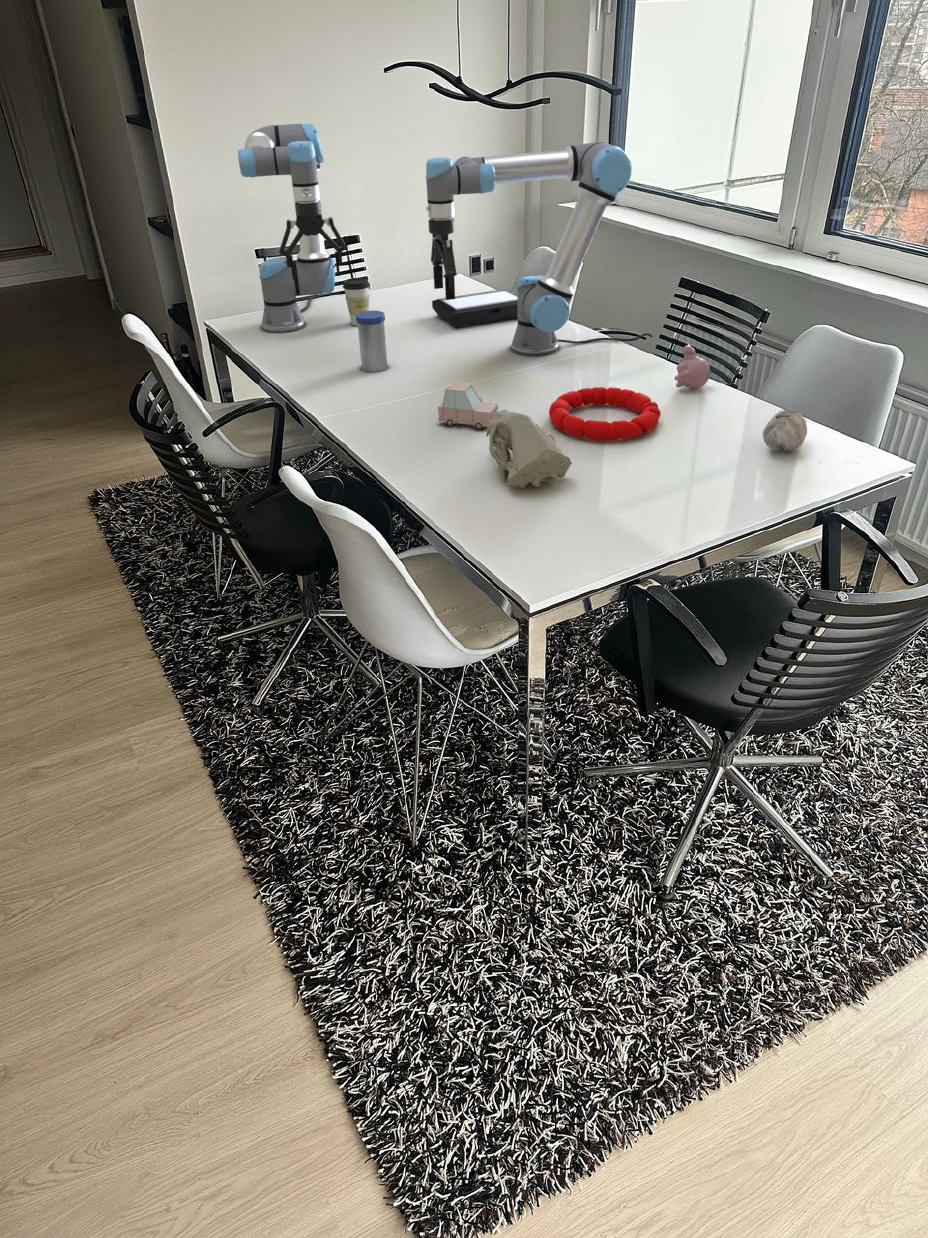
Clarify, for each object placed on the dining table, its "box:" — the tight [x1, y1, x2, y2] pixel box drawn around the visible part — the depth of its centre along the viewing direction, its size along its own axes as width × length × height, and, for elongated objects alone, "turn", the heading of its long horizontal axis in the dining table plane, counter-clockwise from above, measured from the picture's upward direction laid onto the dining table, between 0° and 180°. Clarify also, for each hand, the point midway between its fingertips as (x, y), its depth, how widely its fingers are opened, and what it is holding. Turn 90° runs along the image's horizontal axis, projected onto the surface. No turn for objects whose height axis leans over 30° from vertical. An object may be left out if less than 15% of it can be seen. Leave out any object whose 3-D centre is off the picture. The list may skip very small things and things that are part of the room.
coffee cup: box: [342, 277, 371, 327], centre depth 323 cm, size 10×10×15 cm
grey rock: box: [485, 409, 573, 489], centre depth 216 cm, size 17×25×20 cm
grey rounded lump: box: [762, 410, 808, 451], centre depth 223 cm, size 10×15×10 cm
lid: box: [356, 310, 386, 325], centre depth 277 cm, size 9×9×2 cm
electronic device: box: [431, 288, 518, 329], centre depth 328 cm, size 32×6×20 cm
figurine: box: [674, 344, 711, 390], centre depth 259 cm, size 9×11×12 cm
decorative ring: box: [548, 386, 661, 442], centre depth 242 cm, size 7×30×30 cm
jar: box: [357, 321, 388, 373], centre depth 282 cm, size 8×8×16 cm
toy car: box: [437, 382, 499, 431], centre depth 243 cm, size 9×15×10 cm, turn 70°
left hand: (316, 276), depth 273 cm, fingers open, 13 cm apart
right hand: (444, 293), depth 270 cm, fingers open, 13 cm apart
